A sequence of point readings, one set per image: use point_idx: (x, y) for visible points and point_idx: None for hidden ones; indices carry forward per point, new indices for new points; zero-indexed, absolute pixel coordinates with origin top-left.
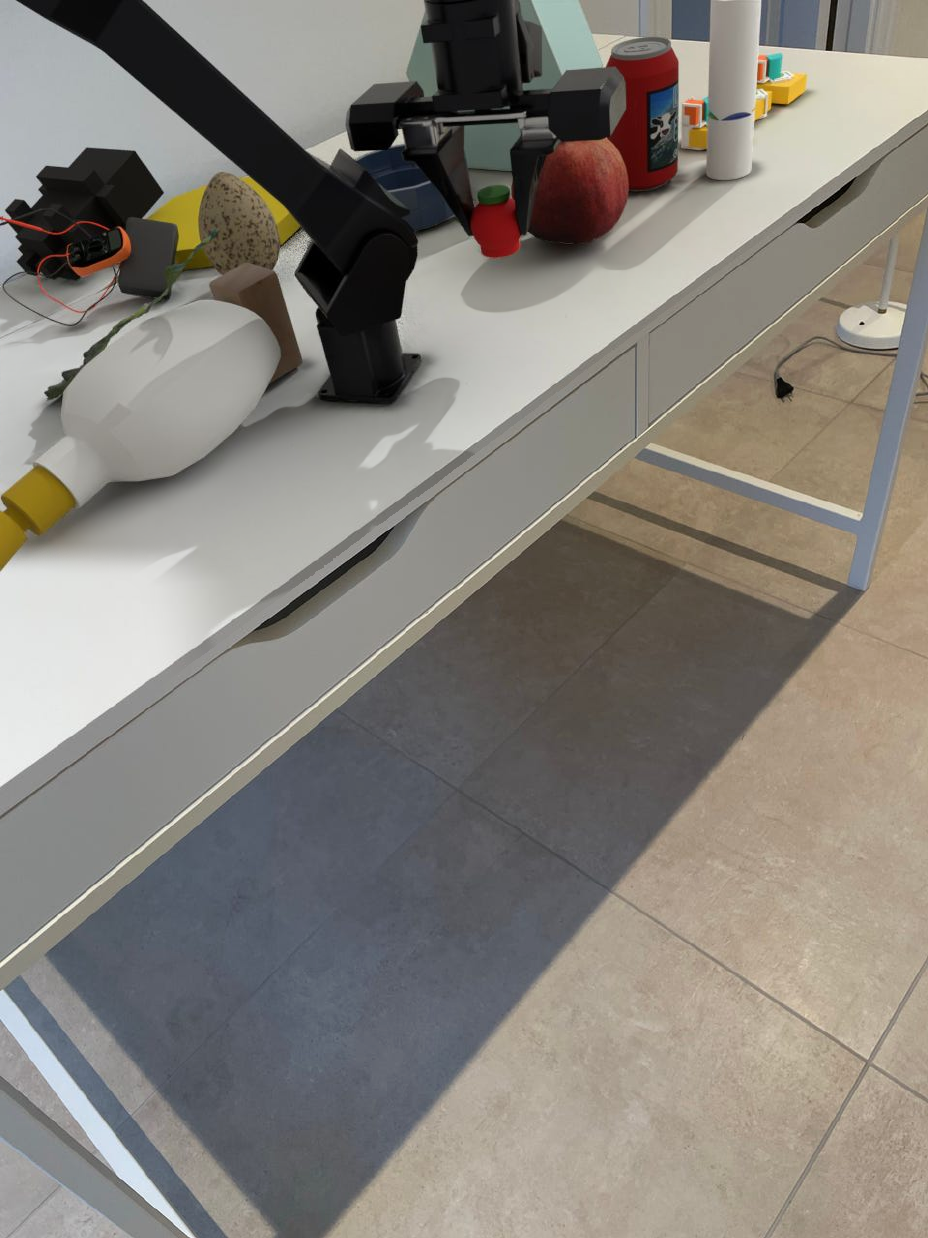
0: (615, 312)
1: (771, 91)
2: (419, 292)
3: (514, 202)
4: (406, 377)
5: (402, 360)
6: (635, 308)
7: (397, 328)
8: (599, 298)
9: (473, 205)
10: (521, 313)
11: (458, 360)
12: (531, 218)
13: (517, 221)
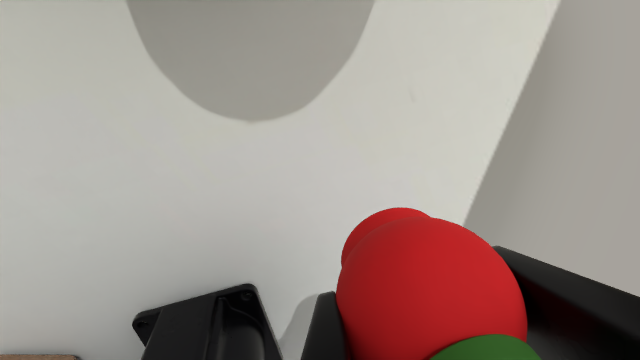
0: (491, 59)
1: None
2: (50, 84)
3: (526, 329)
4: (270, 333)
5: (259, 341)
6: (522, 35)
7: (209, 322)
8: (452, 11)
9: (349, 353)
10: (329, 108)
11: (303, 260)
12: (526, 257)
13: None
